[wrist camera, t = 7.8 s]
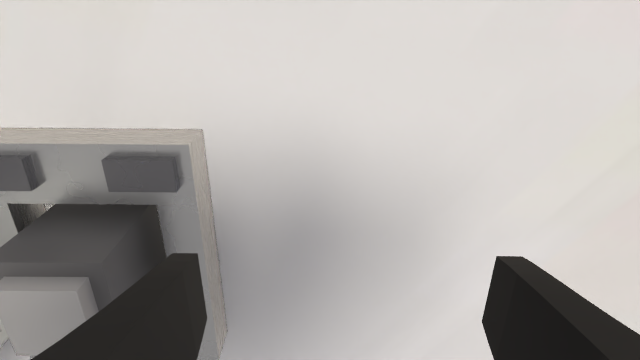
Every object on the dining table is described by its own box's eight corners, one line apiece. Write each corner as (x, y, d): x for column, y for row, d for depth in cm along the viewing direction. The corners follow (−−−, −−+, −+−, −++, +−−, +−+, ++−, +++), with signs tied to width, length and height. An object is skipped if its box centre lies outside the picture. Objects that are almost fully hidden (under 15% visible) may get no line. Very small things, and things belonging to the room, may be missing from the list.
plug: (169, 273, 22) (117, 368, 16) (86, 273, 22) (5, 367, 16) (155, 198, 20) (89, 276, 14) (63, 198, 20) (-37, 276, 14)
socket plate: (227, 331, 23) (216, 367, 21) (53, 329, 23) (24, 365, 21) (202, 129, 18) (184, 149, 16) (-20, 128, 18) (-69, 147, 16)
